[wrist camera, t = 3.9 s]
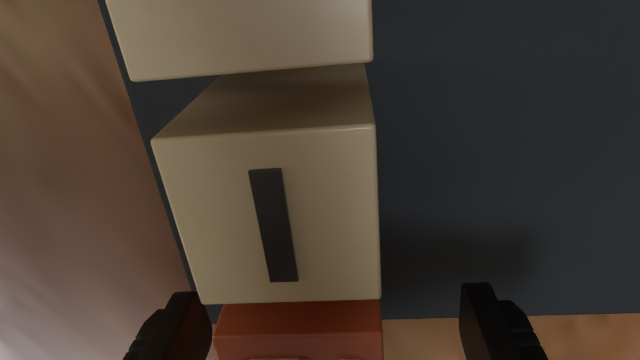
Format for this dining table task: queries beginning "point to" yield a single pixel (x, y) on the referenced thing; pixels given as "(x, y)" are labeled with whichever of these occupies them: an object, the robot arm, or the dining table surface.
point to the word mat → (488, 152)
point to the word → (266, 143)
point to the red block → (300, 331)
